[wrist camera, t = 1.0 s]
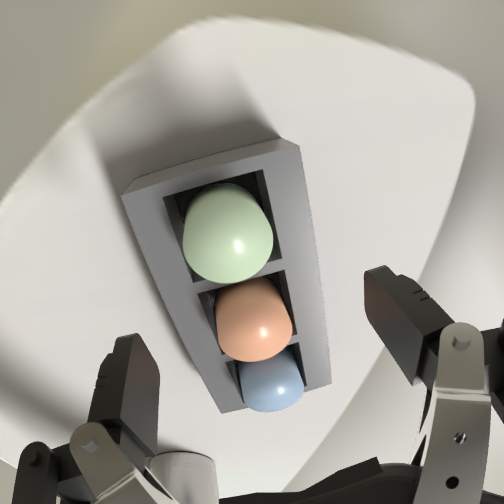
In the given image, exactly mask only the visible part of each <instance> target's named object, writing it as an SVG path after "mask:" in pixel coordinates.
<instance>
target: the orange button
mask: <svg viewBox="0 0 504 504" xmlns="http://www.w3.org/2000/svg"><path fill="white" fill-rule="evenodd" d="M215 313H216V323H217V333H218V341H219V345H220V347H221V349H222V350H223V351H224V352H225V353H226V354H227V355H228V356H230V357H232V358H234V359H236V360H240V361H245V362H255V361H261V360H265V359H268V358H270V357H272V356H274V355H276V354H278V353H279V352H280V351H282V350H283V349H284V348H285V347H286V345H287V344H288V342H289V341H290V339H291V336H292V323H291V321H290V318H289V316H288V313H287V311H286V308H285V306H284V303H283V301H282V298H281V296H280V293H279V291H278V289H277V287H276V286H275V284H274V283H273V282H271V281H270V280H269V279H267V278H265V277H262V276H260V277H256V278H252V279H249V280H245V281H242V282H238V283H234V284H231V285H227V286H223V287H221V288H220V290H219V291H218V293H217V295H216V298H215Z"/></svg>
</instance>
